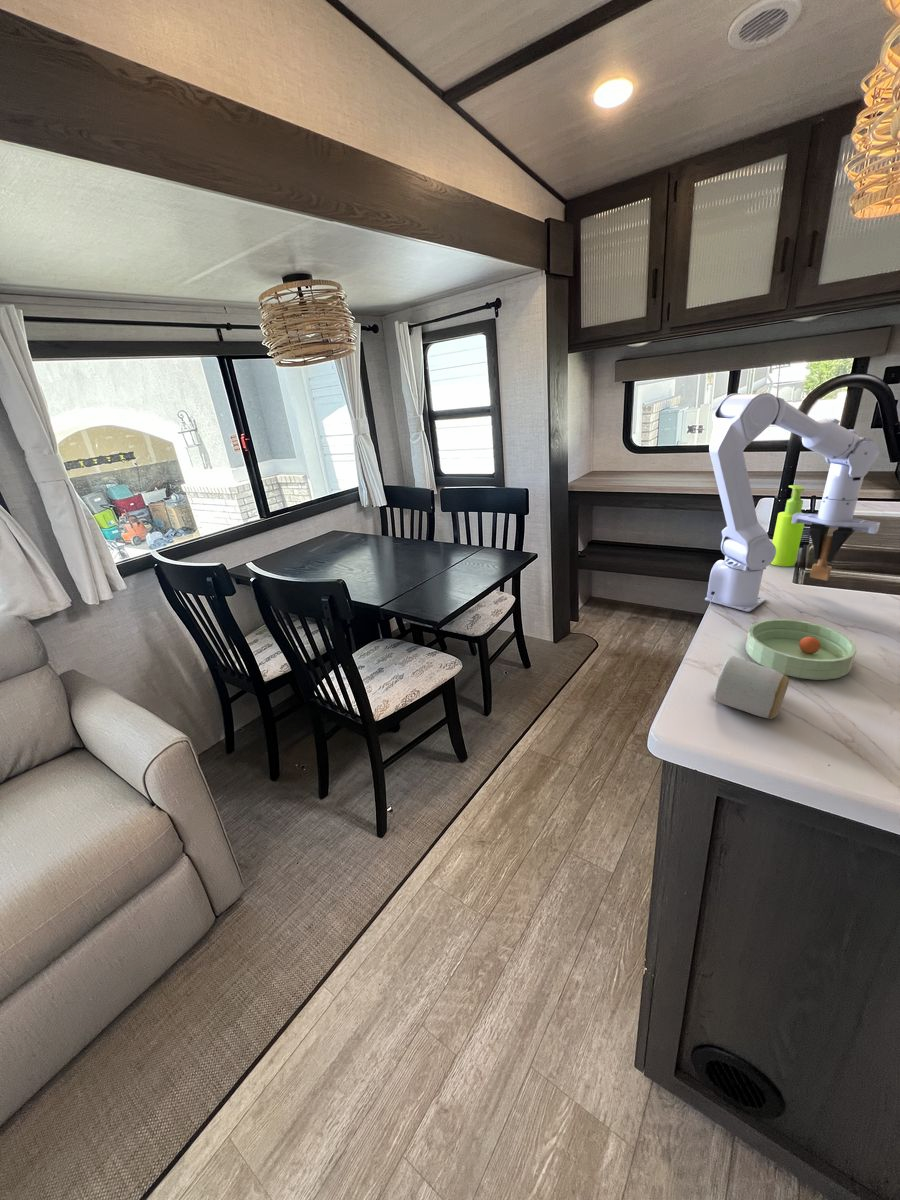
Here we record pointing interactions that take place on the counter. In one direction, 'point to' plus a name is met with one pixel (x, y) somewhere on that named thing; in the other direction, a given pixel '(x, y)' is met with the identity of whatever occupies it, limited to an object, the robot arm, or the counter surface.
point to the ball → (809, 645)
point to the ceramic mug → (751, 687)
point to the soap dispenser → (788, 531)
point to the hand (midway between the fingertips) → (823, 559)
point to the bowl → (781, 650)
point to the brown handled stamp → (823, 560)
